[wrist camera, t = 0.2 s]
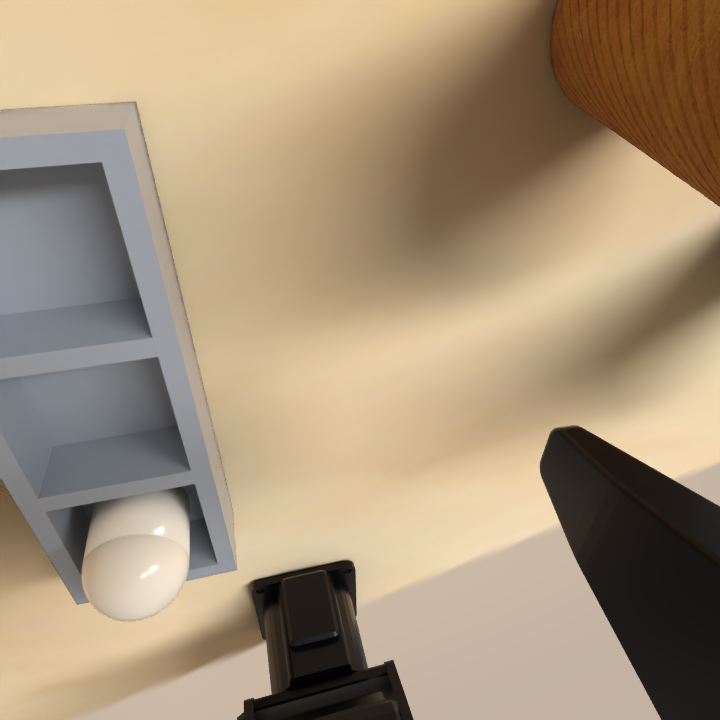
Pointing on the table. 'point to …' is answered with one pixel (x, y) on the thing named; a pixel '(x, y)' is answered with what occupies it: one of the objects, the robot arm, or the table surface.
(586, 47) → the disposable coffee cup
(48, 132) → the egg tray
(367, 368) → the table surface
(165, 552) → the cream egg
